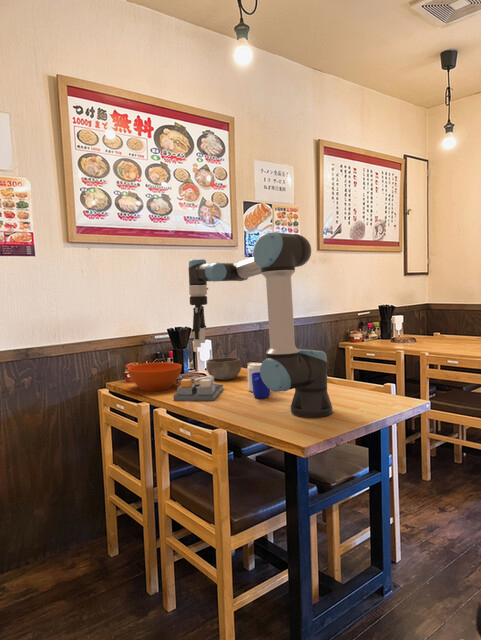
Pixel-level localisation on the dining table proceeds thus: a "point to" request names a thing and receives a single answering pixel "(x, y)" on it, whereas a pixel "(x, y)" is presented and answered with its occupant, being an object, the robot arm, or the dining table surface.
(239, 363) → the bowl
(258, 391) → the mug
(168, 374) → the bowl
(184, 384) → the button orange
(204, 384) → the button ivory
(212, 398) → the panel
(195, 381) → the rocker
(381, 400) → the dining table surface
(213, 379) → the slider knob
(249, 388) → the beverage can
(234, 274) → the robot arm
